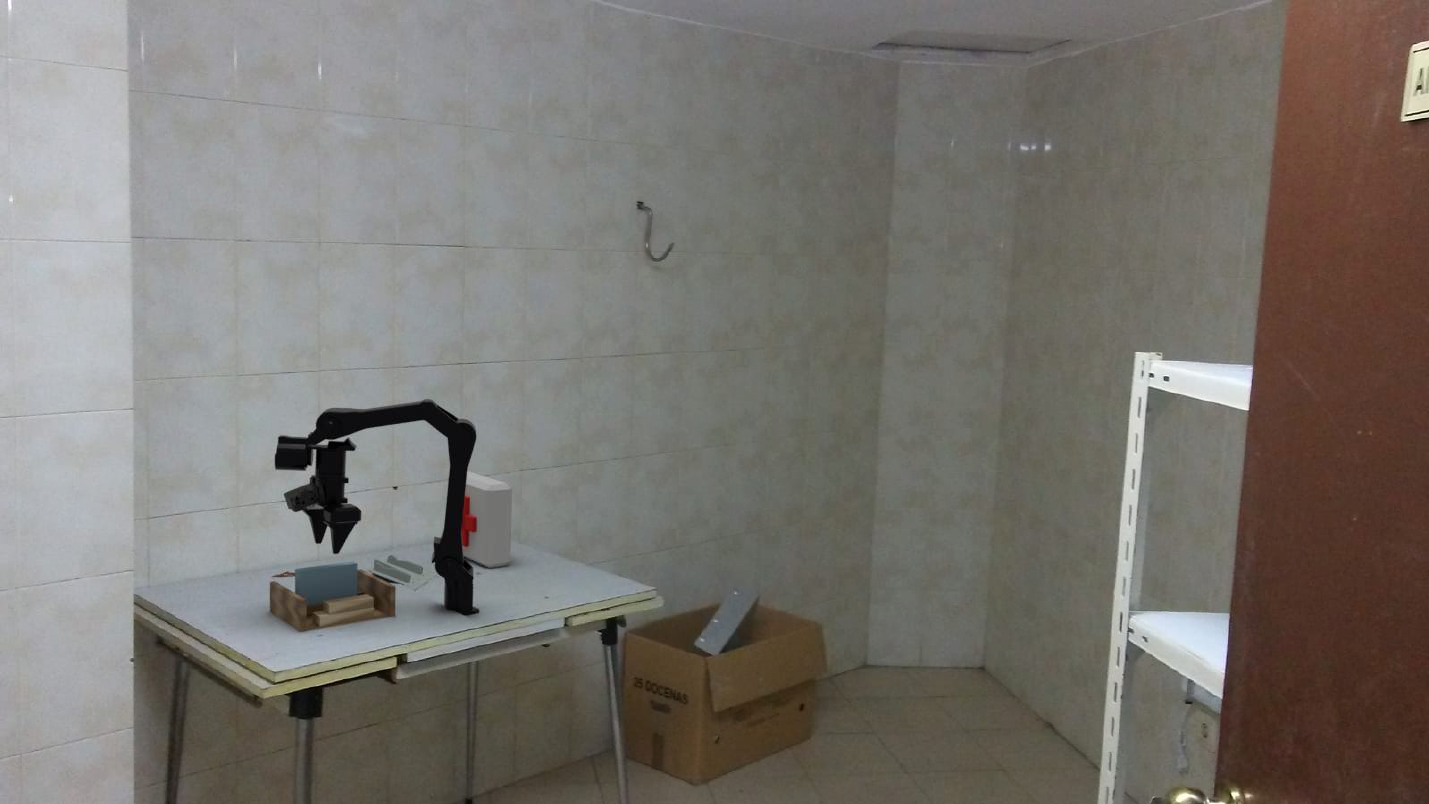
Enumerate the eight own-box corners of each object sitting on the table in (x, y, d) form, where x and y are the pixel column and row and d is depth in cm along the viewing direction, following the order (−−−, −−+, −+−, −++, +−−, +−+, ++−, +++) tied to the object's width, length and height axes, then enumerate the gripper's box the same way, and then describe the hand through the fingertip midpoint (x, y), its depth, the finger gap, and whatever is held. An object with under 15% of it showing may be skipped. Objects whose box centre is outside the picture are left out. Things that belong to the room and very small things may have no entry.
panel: (357, 606, 238) (357, 563, 237) (298, 615, 231) (299, 571, 230) (352, 604, 240) (353, 561, 239) (294, 613, 232) (295, 569, 231)
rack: (395, 620, 233) (395, 586, 233) (301, 636, 221) (301, 600, 220) (360, 601, 245) (361, 569, 245) (269, 616, 233) (269, 581, 232)
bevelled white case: (440, 552, 291) (442, 472, 289) (469, 548, 296) (471, 470, 294) (482, 570, 275) (484, 486, 273) (512, 566, 280) (514, 483, 278)
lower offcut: (374, 617, 231) (374, 608, 231) (319, 627, 224) (319, 616, 224) (366, 613, 234) (366, 603, 234) (312, 622, 227) (312, 612, 227)
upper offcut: (373, 607, 231) (373, 597, 231) (329, 614, 225) (329, 604, 225) (367, 604, 234) (367, 594, 233) (323, 611, 228) (323, 601, 227)
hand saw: (227, 602, 243) (227, 598, 243) (210, 599, 245) (210, 595, 245) (305, 575, 265) (305, 572, 265) (289, 573, 267) (289, 570, 267)
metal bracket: (361, 563, 255) (389, 547, 270) (353, 587, 256) (382, 570, 271) (421, 586, 254) (446, 569, 269) (413, 610, 255) (438, 592, 270)
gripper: (273, 465, 235) (270, 541, 236) (307, 482, 221) (304, 563, 222) (327, 463, 242) (324, 537, 244) (364, 479, 228) (360, 557, 229)
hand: (326, 548), depth 234 cm, fingers open, 9 cm apart
